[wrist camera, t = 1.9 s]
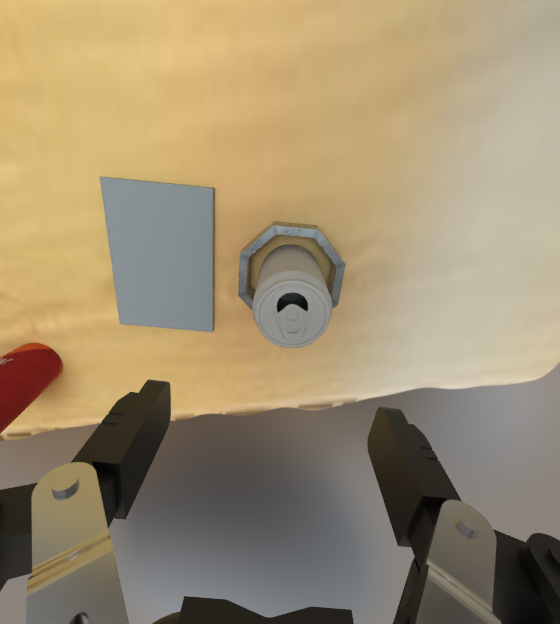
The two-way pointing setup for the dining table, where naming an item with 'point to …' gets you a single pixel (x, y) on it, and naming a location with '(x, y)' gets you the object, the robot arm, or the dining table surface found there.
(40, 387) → the paper cup
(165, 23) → the dining table surface
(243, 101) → the dining table surface
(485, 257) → the dining table surface
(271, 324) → the beverage can
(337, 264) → the ring
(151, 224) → the mat
